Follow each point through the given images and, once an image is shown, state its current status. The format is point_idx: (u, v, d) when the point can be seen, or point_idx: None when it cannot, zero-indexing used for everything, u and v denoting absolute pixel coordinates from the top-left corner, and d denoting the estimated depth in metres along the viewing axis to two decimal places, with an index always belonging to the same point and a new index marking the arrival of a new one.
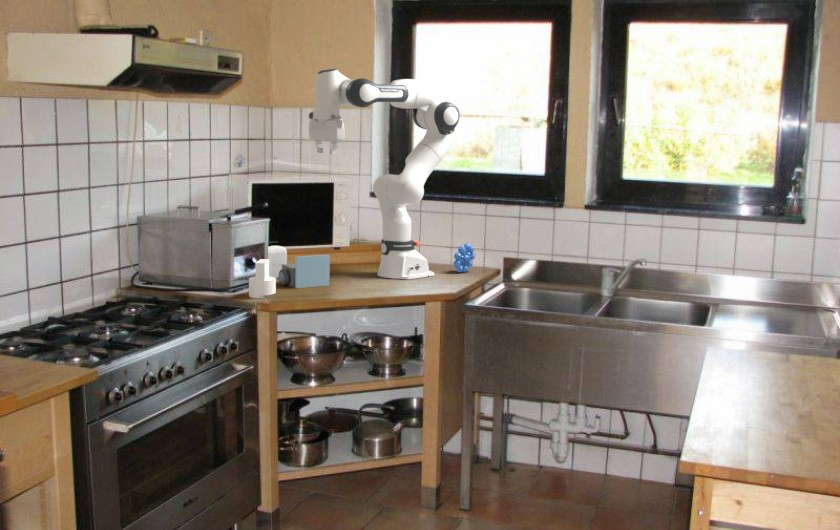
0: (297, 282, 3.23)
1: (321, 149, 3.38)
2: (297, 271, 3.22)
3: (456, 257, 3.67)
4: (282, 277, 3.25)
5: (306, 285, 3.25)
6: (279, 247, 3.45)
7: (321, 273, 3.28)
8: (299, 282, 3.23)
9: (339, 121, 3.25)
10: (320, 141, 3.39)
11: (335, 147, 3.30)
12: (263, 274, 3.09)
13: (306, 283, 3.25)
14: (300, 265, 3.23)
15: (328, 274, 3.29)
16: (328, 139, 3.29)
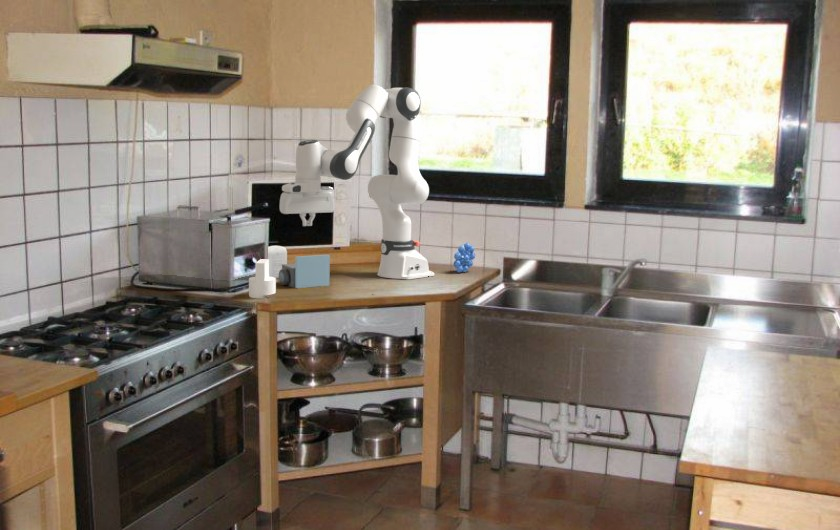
0: (297, 282, 3.23)
1: None
2: (297, 271, 3.22)
3: (456, 257, 3.67)
4: (282, 277, 3.25)
5: (306, 285, 3.25)
6: (279, 247, 3.45)
7: (321, 273, 3.28)
8: (299, 282, 3.23)
9: (332, 192, 3.30)
10: None
11: None
12: (263, 274, 3.09)
13: (306, 283, 3.25)
14: (300, 265, 3.23)
15: (328, 274, 3.29)
16: (321, 211, 3.27)
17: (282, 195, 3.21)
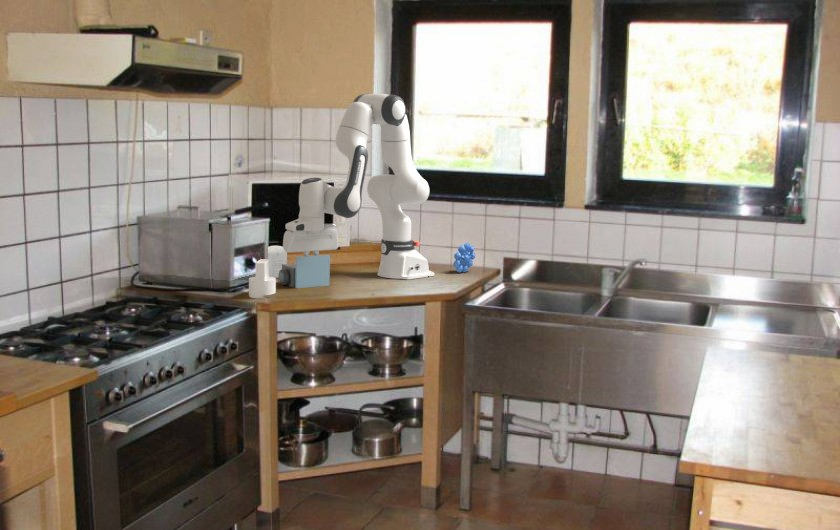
0: (297, 282, 3.23)
1: None
2: (297, 271, 3.22)
3: (456, 257, 3.67)
4: (282, 277, 3.25)
5: (306, 285, 3.25)
6: (279, 247, 3.45)
7: (321, 273, 3.27)
8: (299, 282, 3.23)
9: (336, 229, 3.29)
10: None
11: None
12: (263, 274, 3.09)
13: (306, 283, 3.25)
14: (300, 266, 3.22)
15: (328, 274, 3.29)
16: (324, 248, 3.27)
17: (285, 233, 3.21)
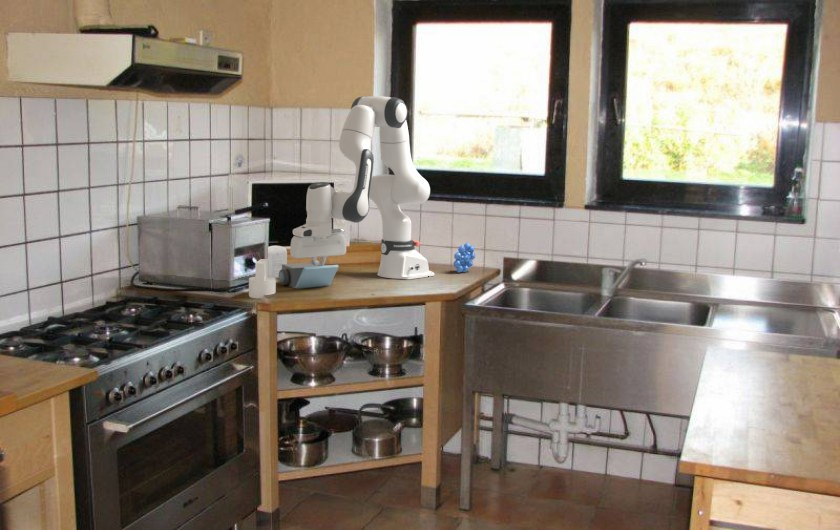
0: (298, 286, 3.22)
1: None
2: (301, 278, 3.20)
3: (456, 257, 3.67)
4: (282, 277, 3.25)
5: (306, 287, 3.25)
6: (279, 247, 3.45)
7: (324, 279, 3.26)
8: (301, 286, 3.23)
9: (343, 234, 3.25)
10: None
11: None
12: (263, 274, 3.09)
13: (307, 286, 3.25)
14: (306, 275, 3.19)
15: (331, 279, 3.28)
16: (332, 254, 3.22)
17: (293, 239, 3.16)
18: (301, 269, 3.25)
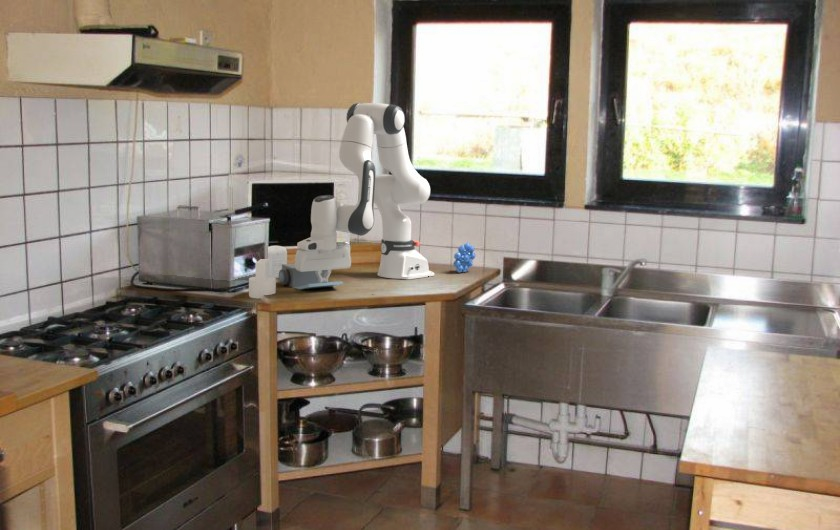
0: None
1: None
2: (303, 288, 3.19)
3: (456, 257, 3.67)
4: (282, 277, 3.25)
5: None
6: (279, 247, 3.45)
7: (326, 286, 3.25)
8: None
9: (348, 247, 3.23)
10: None
11: None
12: (263, 274, 3.09)
13: None
14: (309, 287, 3.18)
15: (332, 286, 3.27)
16: (337, 267, 3.20)
17: (297, 252, 3.14)
18: None
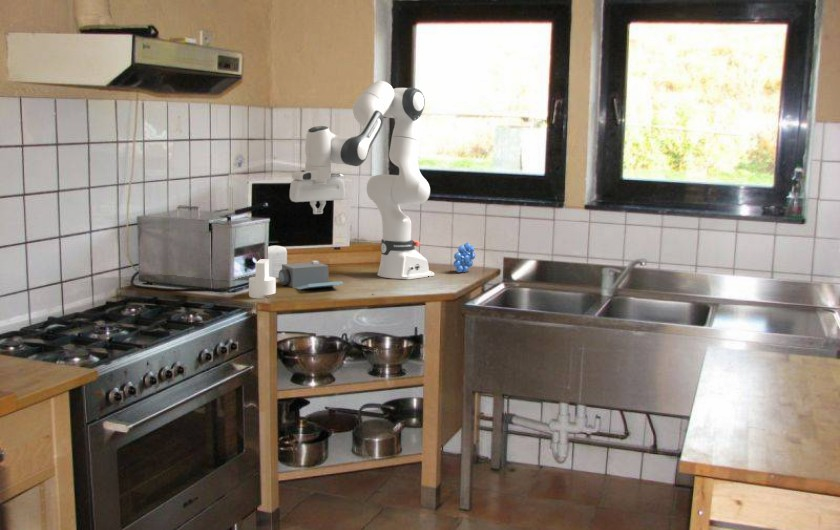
0: None
1: None
2: (303, 288, 3.19)
3: (456, 257, 3.67)
4: (282, 277, 3.25)
5: None
6: (279, 247, 3.45)
7: (326, 286, 3.25)
8: None
9: (342, 179, 3.25)
10: None
11: None
12: (263, 274, 3.09)
13: None
14: (309, 287, 3.18)
15: (332, 286, 3.27)
16: (331, 198, 3.22)
17: (292, 183, 3.16)
18: (301, 269, 3.25)
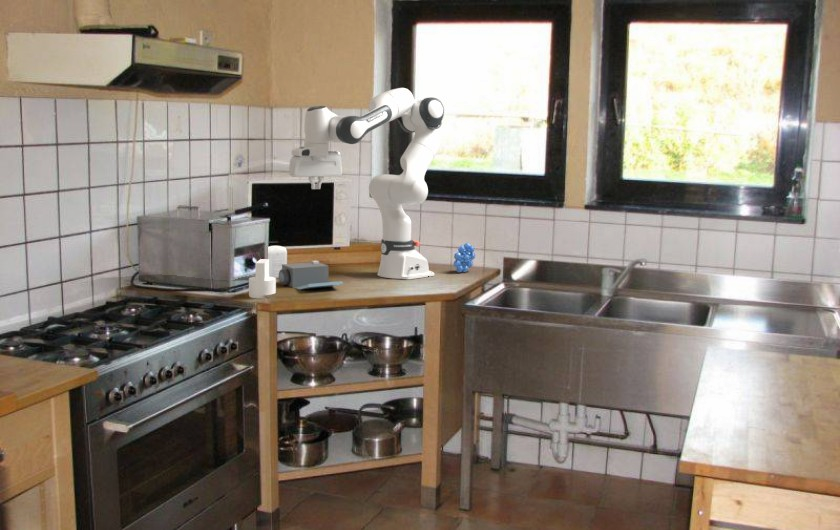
0: None
1: None
2: (303, 288, 3.19)
3: (456, 257, 3.67)
4: (282, 277, 3.25)
5: None
6: (279, 247, 3.45)
7: (326, 286, 3.25)
8: None
9: (340, 156, 3.42)
10: None
11: None
12: (263, 274, 3.09)
13: None
14: (309, 287, 3.18)
15: (332, 286, 3.27)
16: (329, 174, 3.39)
17: (292, 159, 3.33)
18: (301, 269, 3.25)
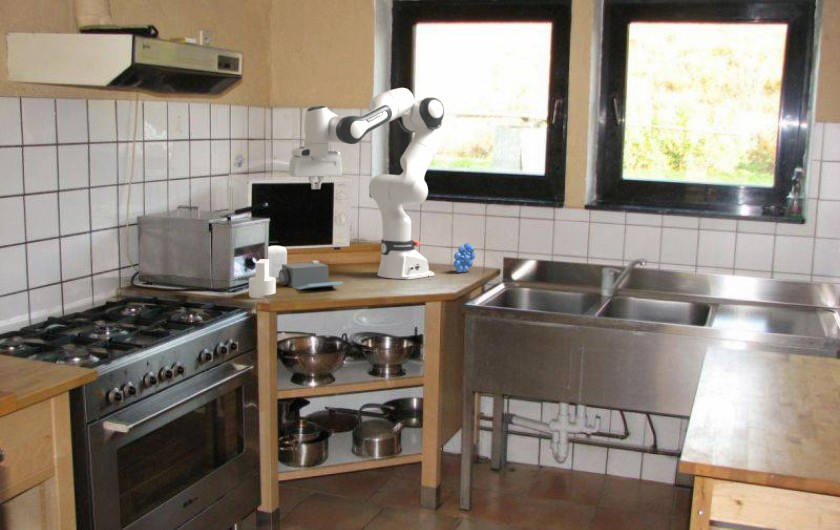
0: None
1: None
2: (303, 288, 3.19)
3: (456, 257, 3.67)
4: (282, 277, 3.25)
5: None
6: (279, 247, 3.45)
7: (326, 286, 3.25)
8: None
9: (340, 156, 3.42)
10: None
11: None
12: (263, 274, 3.09)
13: None
14: (309, 287, 3.18)
15: (332, 286, 3.27)
16: (329, 174, 3.39)
17: (292, 159, 3.33)
18: (301, 269, 3.25)
